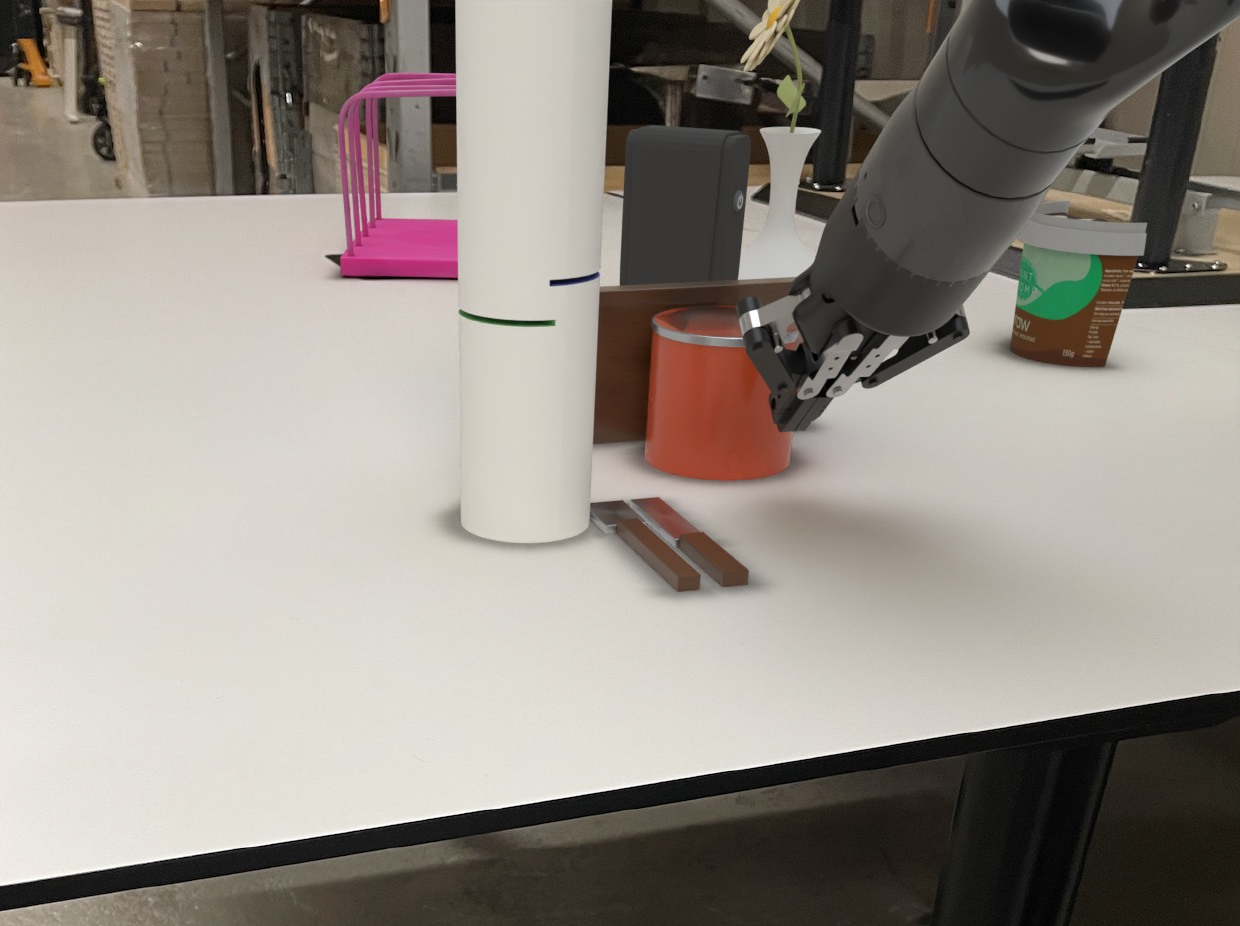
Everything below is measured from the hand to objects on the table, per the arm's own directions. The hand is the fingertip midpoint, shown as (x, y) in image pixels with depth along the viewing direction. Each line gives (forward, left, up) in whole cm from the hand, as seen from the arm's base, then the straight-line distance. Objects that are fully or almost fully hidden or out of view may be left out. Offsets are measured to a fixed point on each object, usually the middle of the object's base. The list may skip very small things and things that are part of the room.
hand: (786, 417), depth 80 cm
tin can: (+6, -5, -4) cm, 9 cm away
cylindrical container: (+11, +12, -5) cm, 16 cm away
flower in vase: (+19, -48, -5) cm, 52 cm away
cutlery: (+2, +11, -4) cm, 12 cm away
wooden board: (+10, -9, -4) cm, 14 cm away
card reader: (+21, -32, -5) cm, 39 cm away
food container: (-5, -44, -5) cm, 45 cm away
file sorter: (+58, -57, -5) cm, 82 cm away
